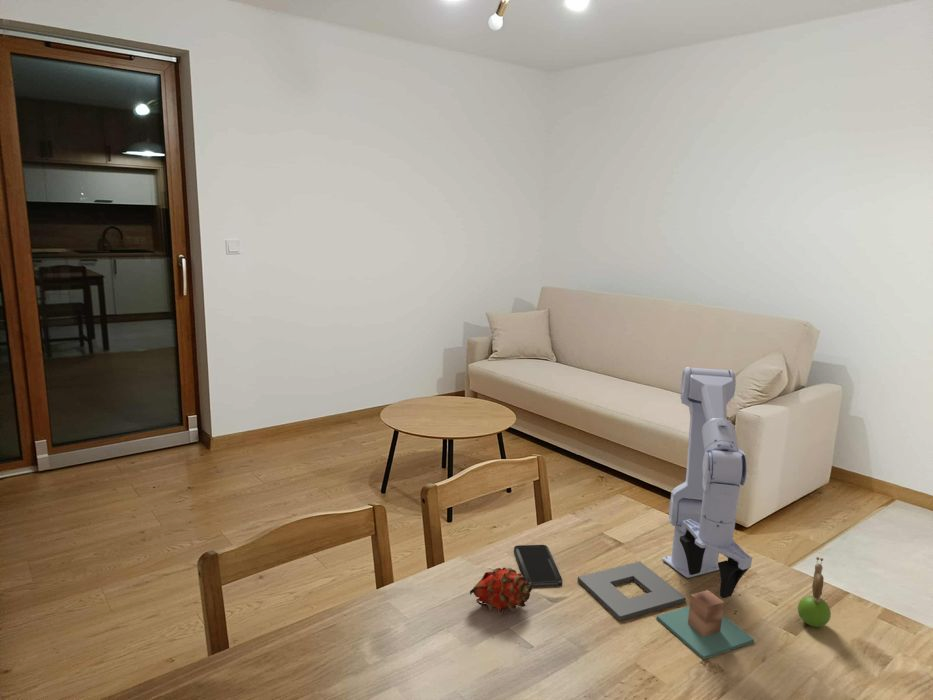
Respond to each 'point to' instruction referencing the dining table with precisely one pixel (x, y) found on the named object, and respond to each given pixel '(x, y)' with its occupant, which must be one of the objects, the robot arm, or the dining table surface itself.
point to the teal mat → (709, 644)
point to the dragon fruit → (502, 590)
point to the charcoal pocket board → (626, 607)
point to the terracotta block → (705, 613)
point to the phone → (537, 565)
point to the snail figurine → (815, 602)
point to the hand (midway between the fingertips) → (709, 584)
